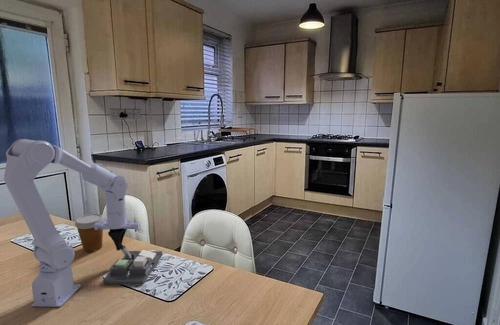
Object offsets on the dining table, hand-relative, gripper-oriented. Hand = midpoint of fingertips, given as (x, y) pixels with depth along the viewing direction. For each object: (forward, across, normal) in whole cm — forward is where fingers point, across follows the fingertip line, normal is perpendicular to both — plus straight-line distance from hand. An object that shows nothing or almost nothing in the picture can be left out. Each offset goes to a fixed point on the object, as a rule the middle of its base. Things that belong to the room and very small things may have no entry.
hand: (119, 249), depth 97 cm
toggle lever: (+3, -3, 0) cm, 5 cm away
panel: (+5, -6, +3) cm, 9 cm away
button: (+3, -3, +6) cm, 8 cm away
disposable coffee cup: (+5, +16, -11) cm, 20 cm away
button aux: (+2, -9, +6) cm, 11 cm away
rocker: (+2, -9, 0) cm, 10 cm away
